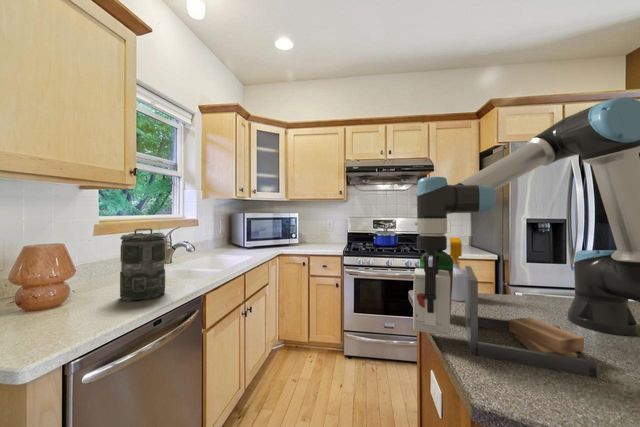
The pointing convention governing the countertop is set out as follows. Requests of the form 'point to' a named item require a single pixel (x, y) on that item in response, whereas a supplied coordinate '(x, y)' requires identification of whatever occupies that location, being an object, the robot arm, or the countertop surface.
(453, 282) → the soap bottle
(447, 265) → the bottle
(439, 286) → the supplement box
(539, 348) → the offcut lower
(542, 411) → the countertop surface
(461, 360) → the countertop surface
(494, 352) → the stand
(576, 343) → the offcut upper
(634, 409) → the countertop surface
